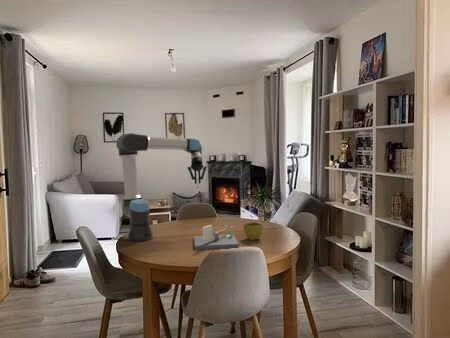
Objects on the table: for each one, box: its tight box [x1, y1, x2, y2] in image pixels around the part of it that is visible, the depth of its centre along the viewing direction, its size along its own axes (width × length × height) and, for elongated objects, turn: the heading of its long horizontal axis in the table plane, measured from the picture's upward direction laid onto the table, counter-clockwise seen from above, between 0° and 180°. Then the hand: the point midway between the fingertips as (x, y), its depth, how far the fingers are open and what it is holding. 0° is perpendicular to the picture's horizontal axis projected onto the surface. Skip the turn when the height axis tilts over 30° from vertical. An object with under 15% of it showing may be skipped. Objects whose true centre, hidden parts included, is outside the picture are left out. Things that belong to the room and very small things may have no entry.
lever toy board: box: [193, 224, 240, 250], centre depth 206 cm, size 24×22×8 cm
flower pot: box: [243, 221, 263, 241], centre depth 215 cm, size 9×9×9 cm
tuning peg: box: [201, 224, 228, 244], centre depth 205 cm, size 22×4×9 cm, turn 146°
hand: (197, 186), depth 230 cm, fingers closed
